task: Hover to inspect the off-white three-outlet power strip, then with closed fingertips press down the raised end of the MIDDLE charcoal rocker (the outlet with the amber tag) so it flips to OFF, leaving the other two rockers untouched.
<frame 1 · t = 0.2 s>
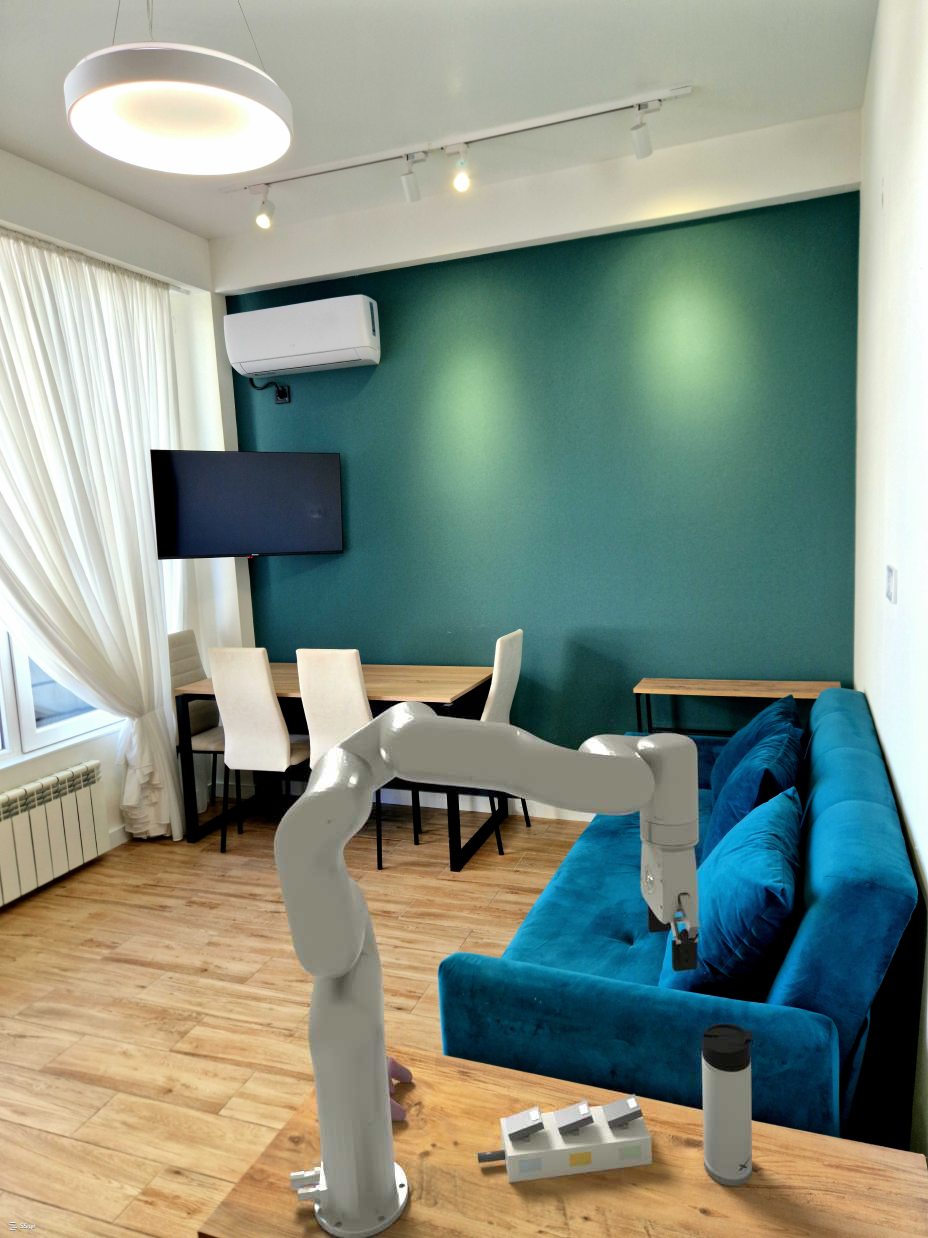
hand: (671, 949, 110), 31 cm above the table, fingers open, 9 cm apart
video game controller: (391, 1102, 127), on the table
travel mug: (729, 1170, 111), on the table
rocker middle: (573, 1117, 114), point 6 cm above the table, hinge at -15.0°
rocker 2: (622, 1111, 115), point 6 cm above the table, hinge at -15.0°
power strip: (575, 1153, 115), on the table
rocker 1: (524, 1123, 114), point 6 cm above the table, hinge at -15.0°
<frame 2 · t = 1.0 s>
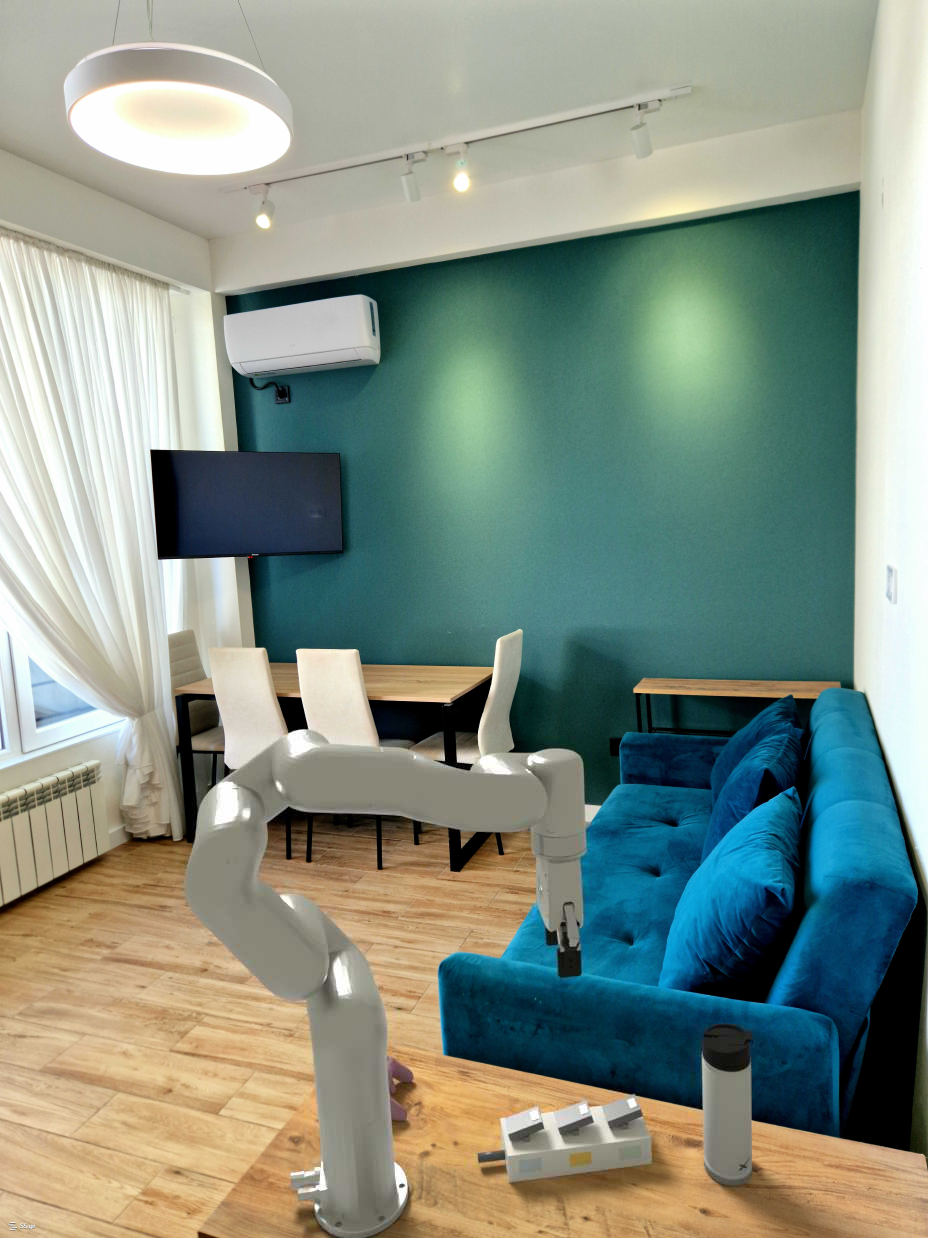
hand: (563, 958, 114), 28 cm above the table, fingers open, 7 cm apart
nothing on the table moved.
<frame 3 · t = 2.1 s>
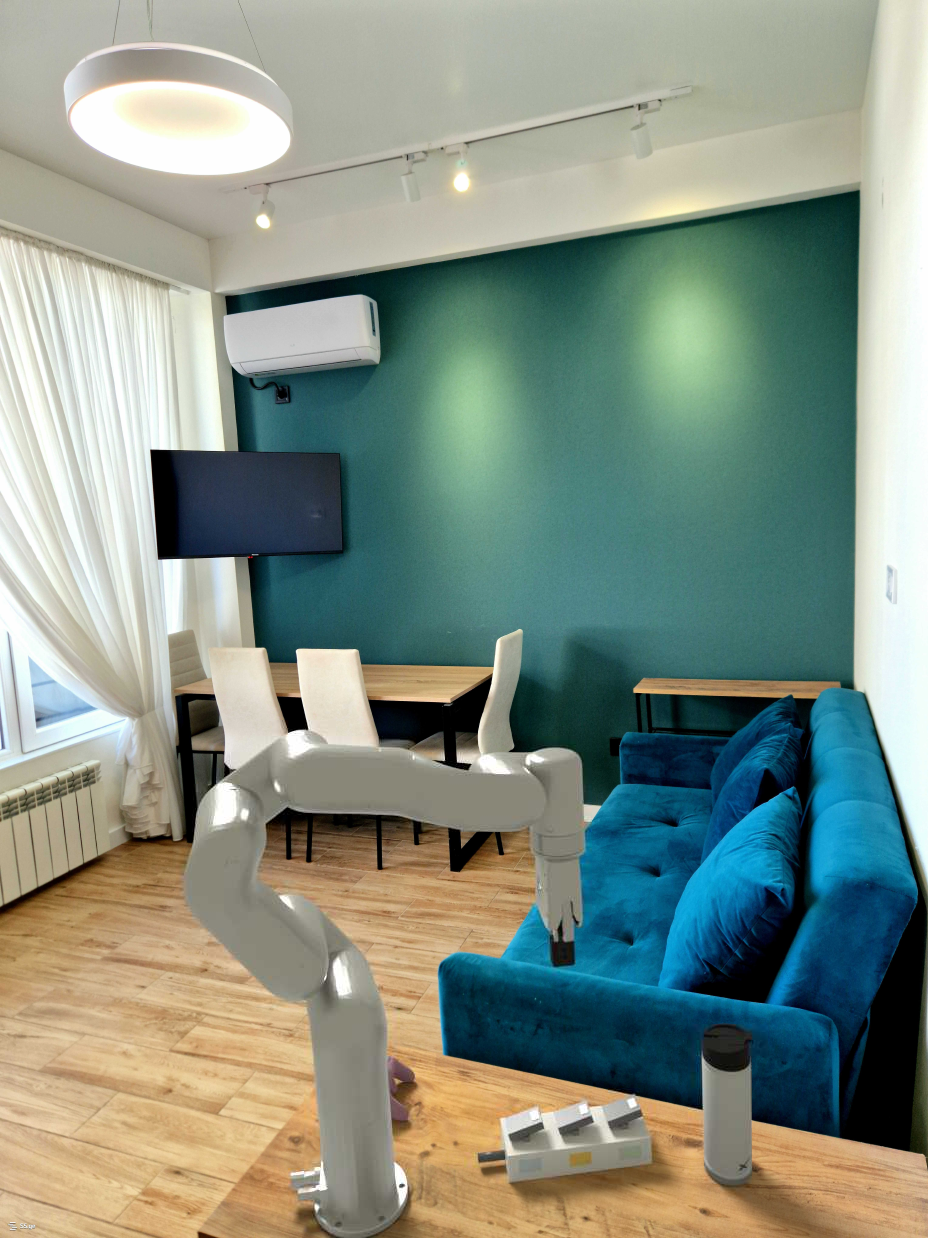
hand: (562, 963, 114), 27 cm above the table, fingers closed
nothing on the table moved.
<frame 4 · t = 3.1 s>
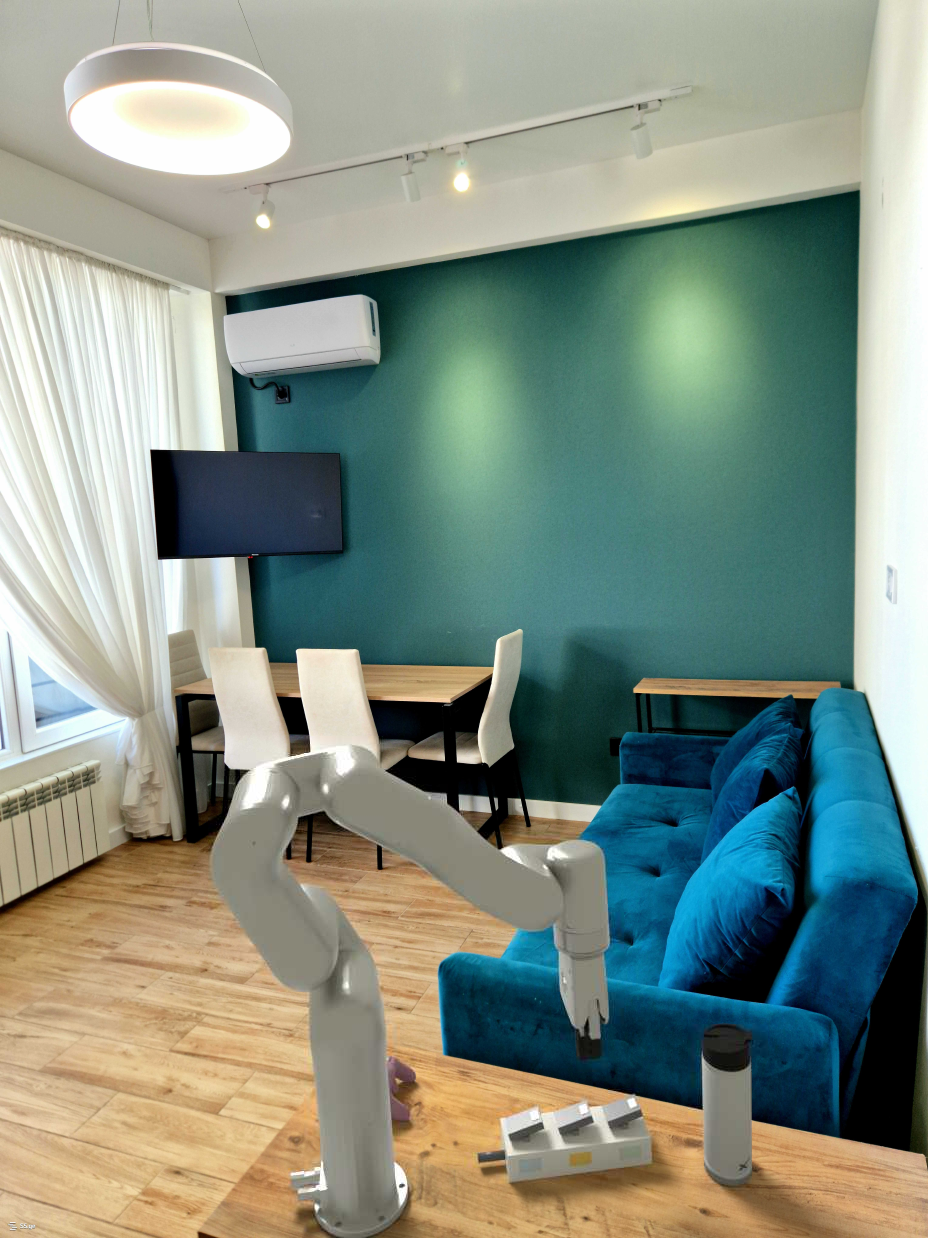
hand: (589, 1055, 113), 15 cm above the table, fingers closed
nothing on the table moved.
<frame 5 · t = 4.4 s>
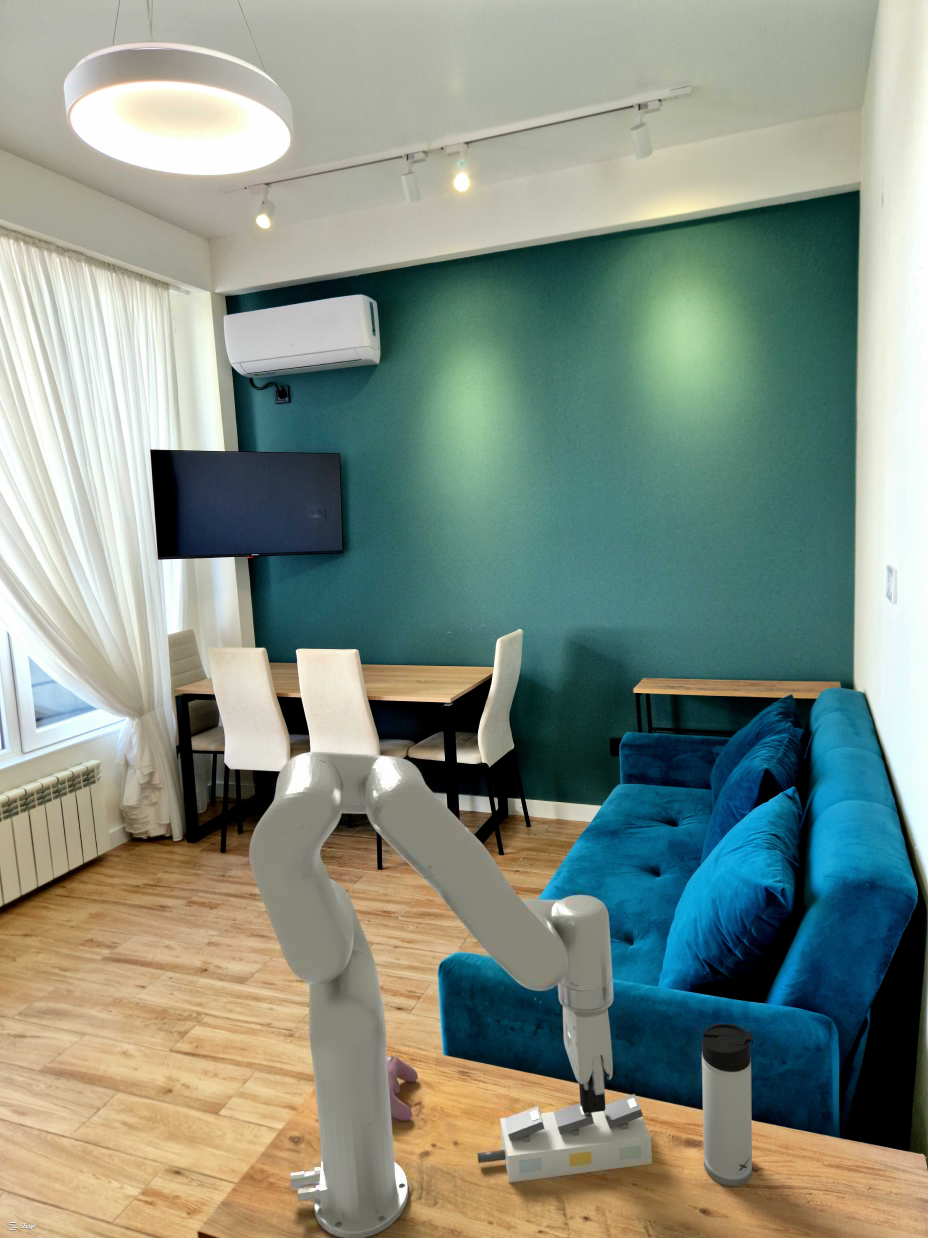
hand: (593, 1108, 114), 7 cm above the table, fingers closed
rocker middle: (573, 1117, 114), point 6 cm above the table, hinge at -11.5°, touching gripper
everything else where it was.
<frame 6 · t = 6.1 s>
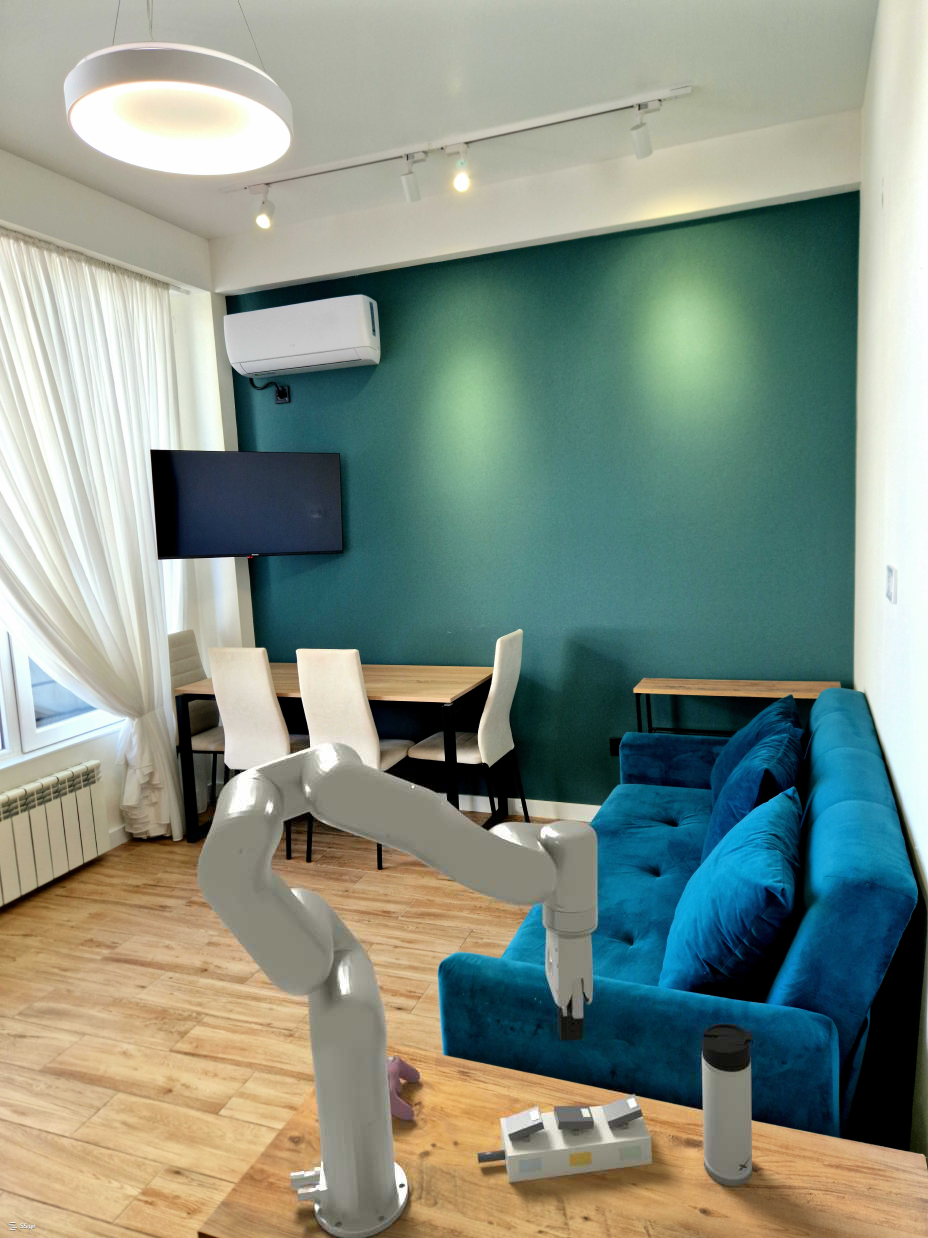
hand: (570, 1036, 114), 17 cm above the table, fingers closed
rocker middle: (573, 1117, 114), point 6 cm above the table, hinge at 6.5°
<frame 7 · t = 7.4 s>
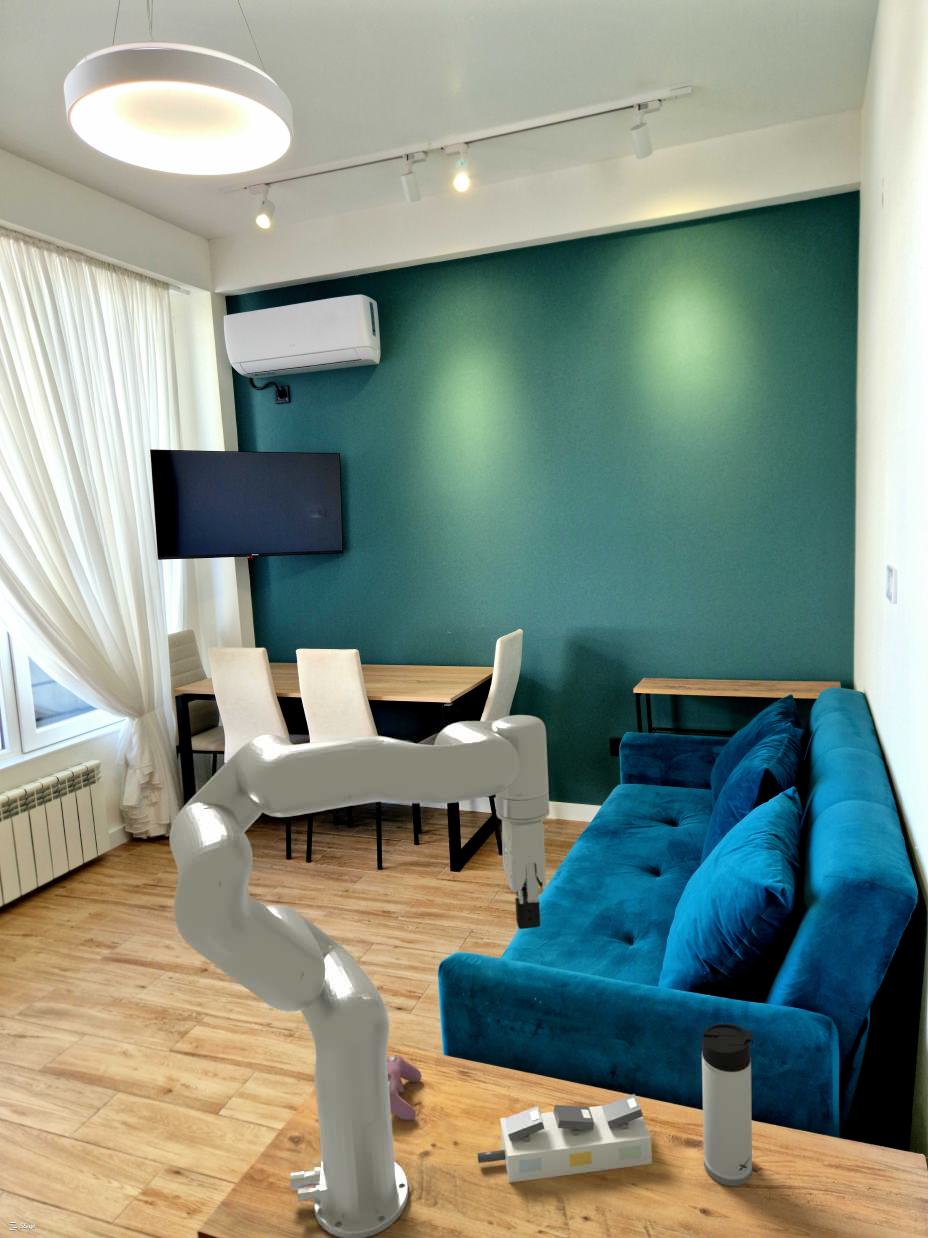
hand: (528, 925, 117), 31 cm above the table, fingers closed
rocker middle: (573, 1117, 114), point 6 cm above the table, hinge at 11.6°
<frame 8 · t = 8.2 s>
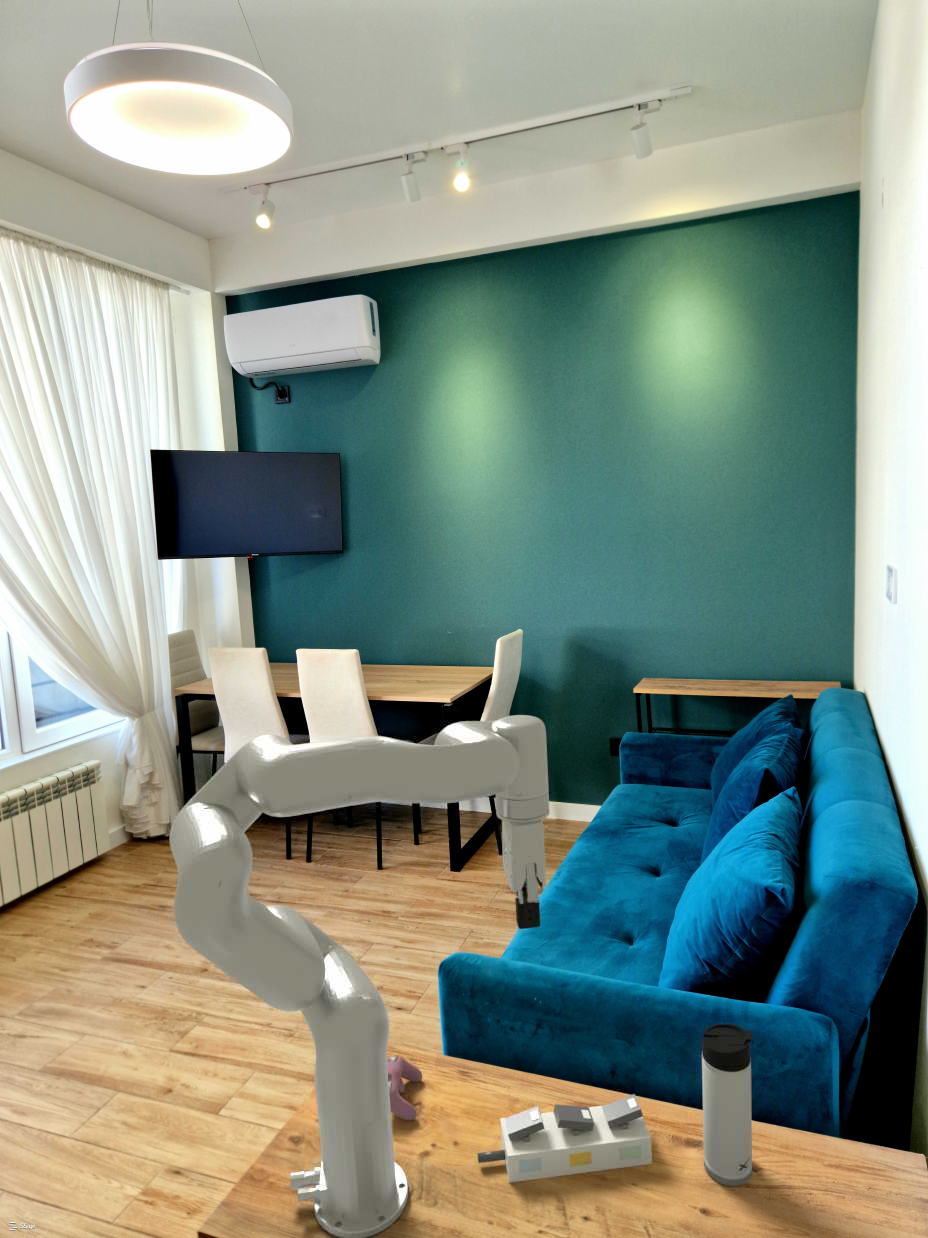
hand: (528, 925, 117), 31 cm above the table, fingers closed
rocker middle: (573, 1117, 114), point 6 cm above the table, hinge at 13.2°
at the end: rocker middle at +13° (first picture: -15°); rocker 1 at -15° (first picture: -15°); rocker 2 at -15° (first picture: -15°) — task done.
